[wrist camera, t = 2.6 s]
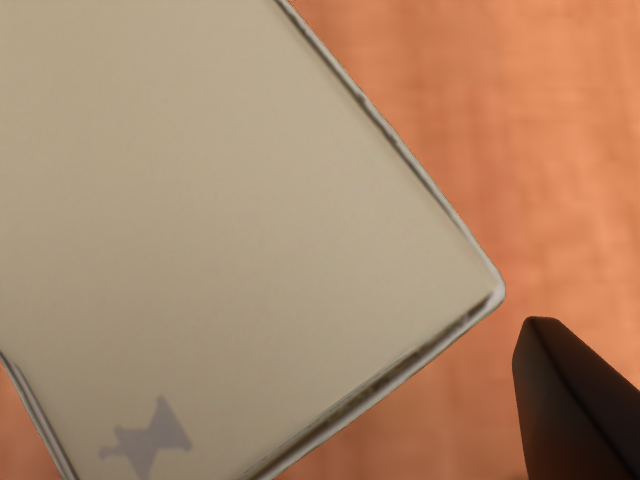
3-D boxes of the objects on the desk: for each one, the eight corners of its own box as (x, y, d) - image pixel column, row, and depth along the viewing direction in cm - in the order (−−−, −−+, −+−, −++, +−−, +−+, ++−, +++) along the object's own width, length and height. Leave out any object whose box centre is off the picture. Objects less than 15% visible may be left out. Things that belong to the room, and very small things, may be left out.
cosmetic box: (404, 337, 16) (560, 321, 4) (293, 417, 16) (127, 640, 4) (292, 181, 18) (169, -165, 6) (187, 254, 17) (-182, 50, 5)
